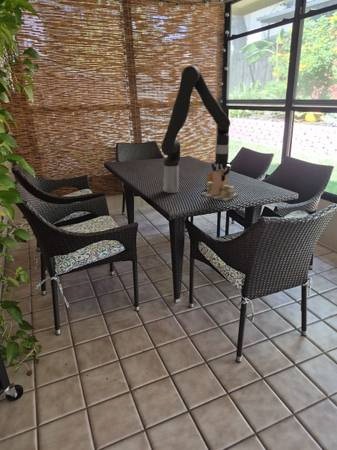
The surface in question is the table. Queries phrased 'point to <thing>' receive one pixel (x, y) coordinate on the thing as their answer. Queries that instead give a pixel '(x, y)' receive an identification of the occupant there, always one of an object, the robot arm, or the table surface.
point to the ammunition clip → (209, 178)
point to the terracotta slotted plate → (218, 182)
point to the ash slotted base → (225, 192)
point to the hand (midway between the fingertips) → (220, 180)
